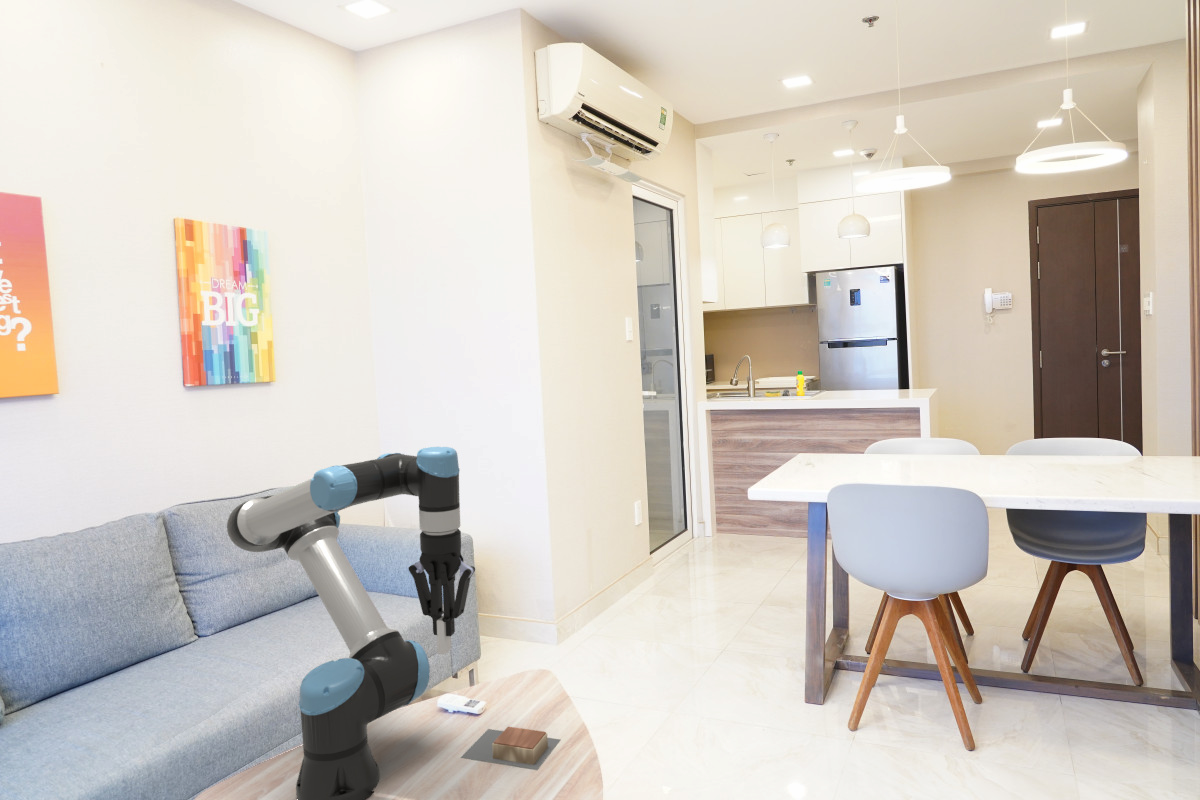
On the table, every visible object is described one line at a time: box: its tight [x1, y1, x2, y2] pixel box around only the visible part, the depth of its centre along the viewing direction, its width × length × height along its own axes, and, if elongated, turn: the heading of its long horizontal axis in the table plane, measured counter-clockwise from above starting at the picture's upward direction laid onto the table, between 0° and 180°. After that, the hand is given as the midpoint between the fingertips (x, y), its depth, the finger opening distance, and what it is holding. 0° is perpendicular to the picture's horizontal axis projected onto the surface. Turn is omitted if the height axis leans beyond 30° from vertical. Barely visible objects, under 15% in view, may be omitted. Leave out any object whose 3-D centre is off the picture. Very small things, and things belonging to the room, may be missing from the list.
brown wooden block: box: [492, 726, 548, 765], centre depth 157 cm, size 3×7×9 cm
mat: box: [460, 728, 561, 771], centre depth 159 cm, size 17×12×1 cm
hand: (444, 651), depth 147 cm, fingers closed
